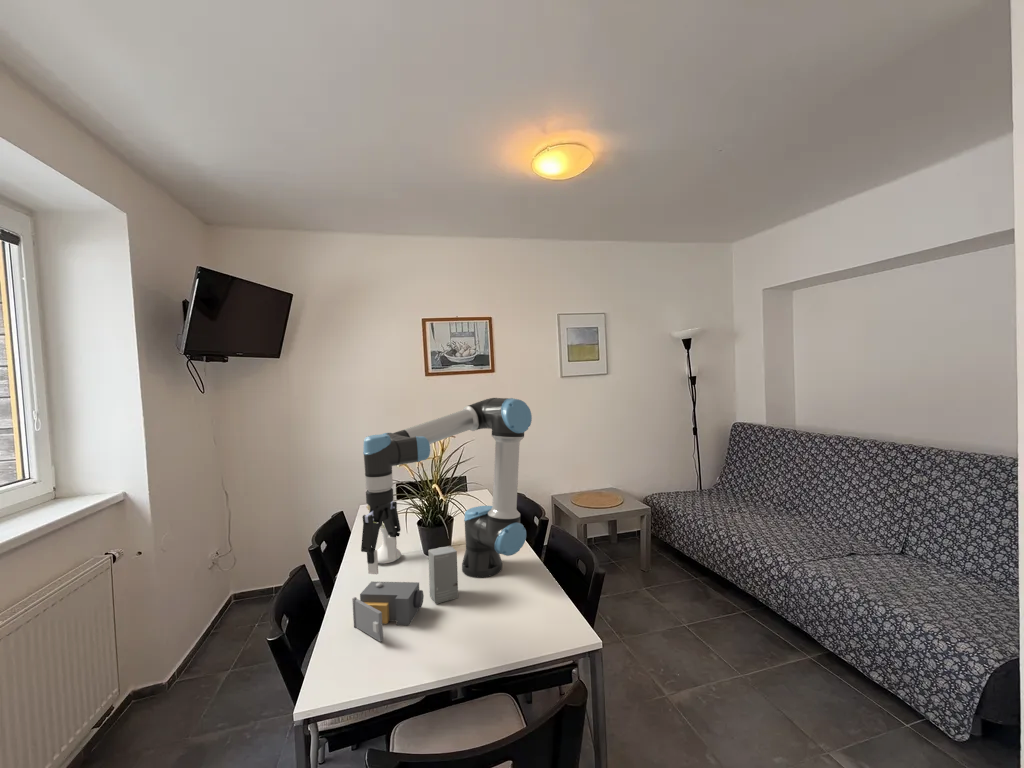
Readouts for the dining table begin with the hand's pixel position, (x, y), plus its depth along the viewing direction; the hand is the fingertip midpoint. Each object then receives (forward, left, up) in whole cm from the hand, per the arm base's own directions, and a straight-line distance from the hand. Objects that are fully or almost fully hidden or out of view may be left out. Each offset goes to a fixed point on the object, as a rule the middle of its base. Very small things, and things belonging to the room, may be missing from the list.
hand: (383, 565), depth 128 cm
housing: (+2, -7, -19) cm, 21 cm away
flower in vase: (+20, -47, -20) cm, 55 cm away
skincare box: (-12, -20, -20) cm, 30 cm away
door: (+5, +2, -19) cm, 20 cm away
